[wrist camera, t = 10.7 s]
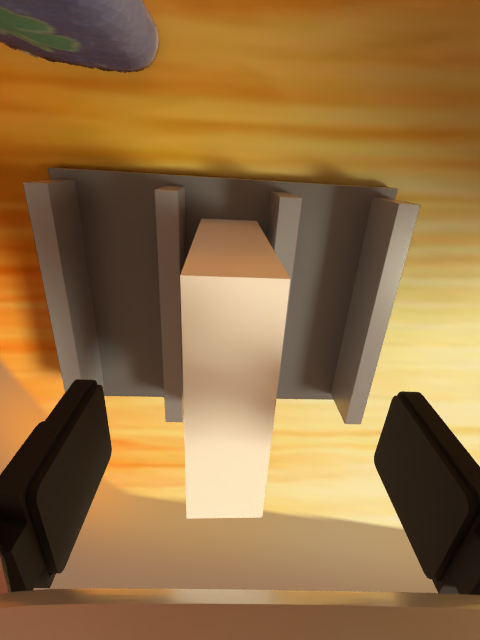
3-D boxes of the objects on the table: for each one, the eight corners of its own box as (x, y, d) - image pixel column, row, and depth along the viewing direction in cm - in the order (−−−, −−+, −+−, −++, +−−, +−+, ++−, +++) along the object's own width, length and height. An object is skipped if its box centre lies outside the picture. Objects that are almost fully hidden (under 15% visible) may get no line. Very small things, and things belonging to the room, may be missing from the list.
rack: (389, 187, 19) (429, 193, 15) (342, 390, 25) (362, 430, 21) (56, 167, 18) (14, 168, 14) (91, 386, 23) (67, 427, 20)
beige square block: (256, 220, 18) (290, 278, 9) (246, 374, 22) (262, 517, 13) (201, 218, 18) (180, 275, 9) (201, 373, 22) (186, 518, 13)
